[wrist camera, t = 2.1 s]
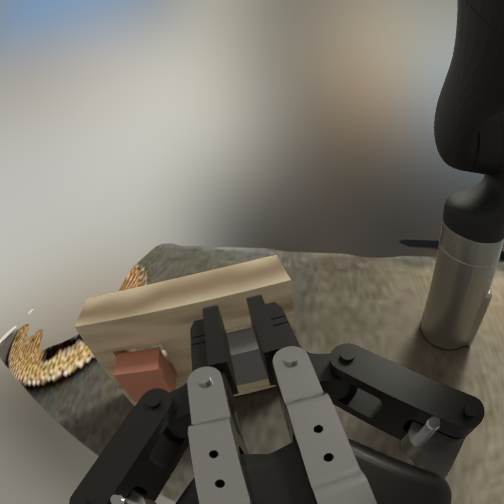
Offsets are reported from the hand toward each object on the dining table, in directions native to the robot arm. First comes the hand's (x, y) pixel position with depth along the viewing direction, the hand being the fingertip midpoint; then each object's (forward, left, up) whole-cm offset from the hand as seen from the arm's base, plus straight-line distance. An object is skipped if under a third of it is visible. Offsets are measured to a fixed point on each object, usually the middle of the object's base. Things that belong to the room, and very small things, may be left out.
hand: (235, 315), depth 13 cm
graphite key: (+6, -6, -15) cm, 18 cm away
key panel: (+13, -5, -22) cm, 26 cm away
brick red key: (+14, +2, -15) cm, 21 cm away
